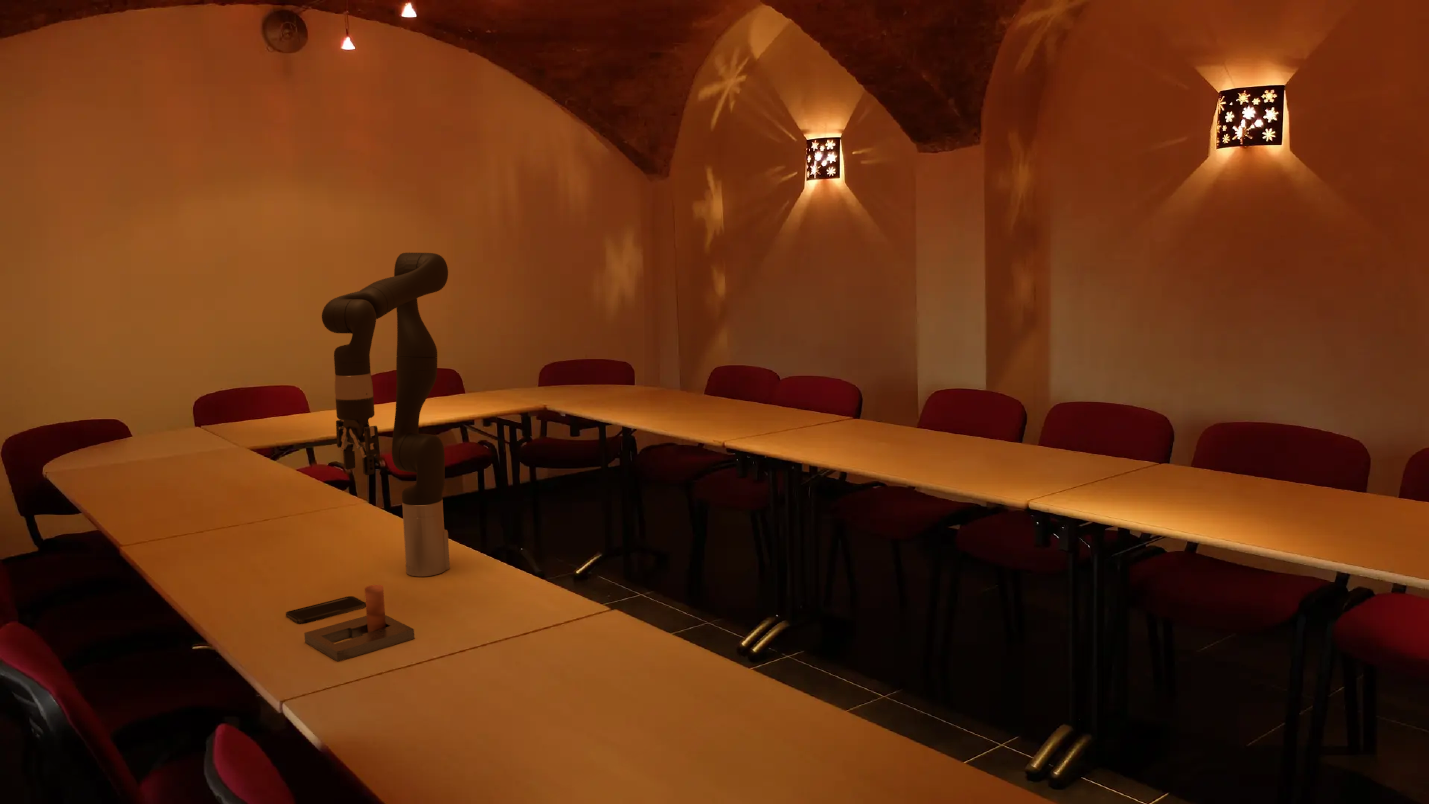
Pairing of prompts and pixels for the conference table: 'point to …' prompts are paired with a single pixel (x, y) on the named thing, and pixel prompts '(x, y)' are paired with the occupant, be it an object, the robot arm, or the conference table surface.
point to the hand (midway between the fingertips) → (359, 471)
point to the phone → (325, 610)
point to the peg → (375, 607)
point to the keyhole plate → (359, 645)
